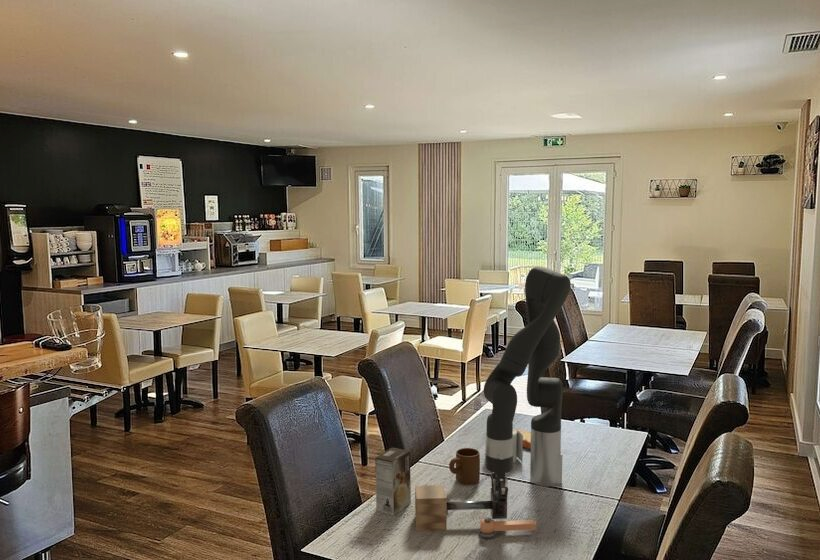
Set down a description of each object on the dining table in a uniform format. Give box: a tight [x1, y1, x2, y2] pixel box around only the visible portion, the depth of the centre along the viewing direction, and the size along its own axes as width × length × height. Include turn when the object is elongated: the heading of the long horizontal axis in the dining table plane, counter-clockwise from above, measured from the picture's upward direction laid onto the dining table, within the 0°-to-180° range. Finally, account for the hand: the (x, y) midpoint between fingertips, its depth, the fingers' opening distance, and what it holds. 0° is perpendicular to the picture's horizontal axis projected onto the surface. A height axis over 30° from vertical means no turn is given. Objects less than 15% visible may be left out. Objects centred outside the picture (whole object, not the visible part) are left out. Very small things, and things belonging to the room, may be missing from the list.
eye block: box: [414, 484, 448, 532], centre depth 172 cm, size 8×8×9 cm
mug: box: [448, 447, 481, 486], centre depth 198 cm, size 12×8×9 cm, turn 133°
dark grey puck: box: [478, 528, 497, 540], centre depth 166 cm, size 4×4×1 cm
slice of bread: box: [516, 429, 531, 451], centre depth 233 cm, size 18×18×4 cm
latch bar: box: [479, 517, 537, 534], centre depth 166 cm, size 4×15×3 cm, turn 93°
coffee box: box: [374, 447, 412, 516], centre depth 181 cm, size 9×6×16 cm
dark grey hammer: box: [447, 487, 508, 520], centre depth 173 cm, size 17×3×8 cm, turn 92°
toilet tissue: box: [485, 427, 524, 464], centre depth 216 cm, size 11×12×10 cm
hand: (498, 512), depth 173 cm, fingers closed on dark grey hammer, 3 cm apart
